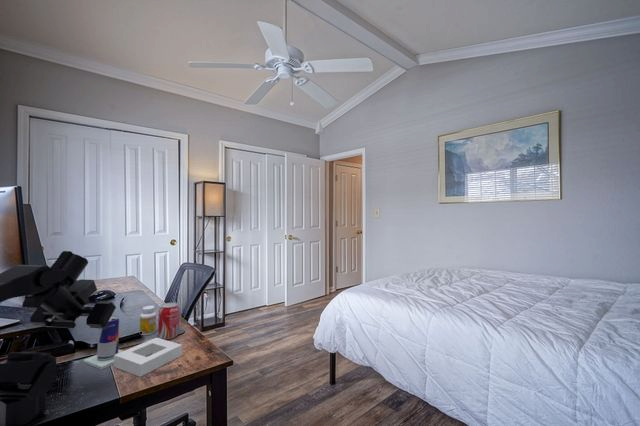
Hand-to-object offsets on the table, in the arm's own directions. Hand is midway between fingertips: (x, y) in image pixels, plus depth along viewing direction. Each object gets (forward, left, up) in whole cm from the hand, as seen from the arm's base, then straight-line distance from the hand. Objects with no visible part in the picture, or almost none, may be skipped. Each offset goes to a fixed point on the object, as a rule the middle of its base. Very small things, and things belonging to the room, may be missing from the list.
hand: (90, 327), depth 83 cm
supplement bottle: (+27, +12, -14) cm, 33 cm away
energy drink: (+8, +4, -13) cm, 16 cm away
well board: (+13, -8, -14) cm, 20 cm away
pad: (+8, +4, -14) cm, 16 cm away
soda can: (+28, +2, -14) cm, 31 cm away
